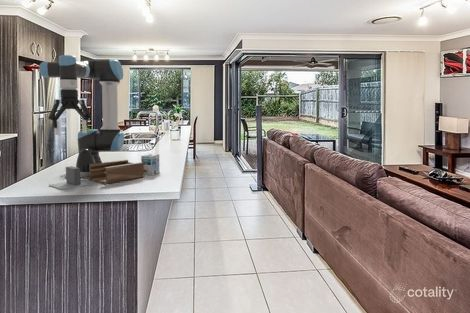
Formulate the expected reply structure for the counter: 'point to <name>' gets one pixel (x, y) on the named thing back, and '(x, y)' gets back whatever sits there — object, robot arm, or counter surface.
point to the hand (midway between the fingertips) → (71, 134)
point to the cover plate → (68, 186)
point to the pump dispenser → (84, 162)
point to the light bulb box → (150, 164)
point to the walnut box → (116, 171)
